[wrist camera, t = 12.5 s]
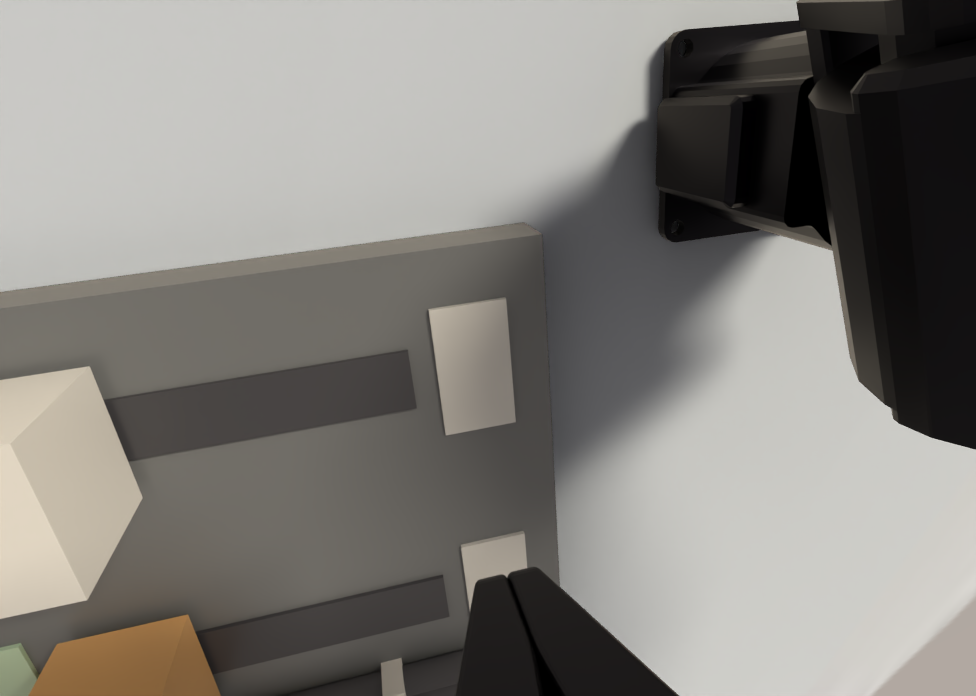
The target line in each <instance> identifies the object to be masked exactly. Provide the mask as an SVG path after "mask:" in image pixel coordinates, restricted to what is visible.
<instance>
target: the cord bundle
mask: <svg viewBox="0 0 976 696" xmlns="http://www.w3.org/2000/svg"><path fill="white" fill-rule="evenodd" d="M462 654H463V650H460V651H456V652H452V653H448V654H444V655H440V656H436V657H432V658H428V659H424V660H420V661H416V662H412V663H409V664H405V665H403V664H402V659H401V658H399V659H395V660H391V661H387V662H383V663H381V671H377V672H373V673H369V674H365V675H361V676H357V677H353V678H349V679H346V680H342V681H338V682H334V683H330V684H326V685H322V686H318V687H314V688H310V689H306V690H302V691H298V692H294V693H290V694H286V695H283V696H455V693H456V688H457V682H458V676H459V671H460V665H461V659H462Z"/></svg>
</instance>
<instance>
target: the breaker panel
mask: <svg viewBox="0 0 976 696" xmlns="http://www.w3.org/2000/svg"><path fill="white" fill-rule="evenodd" d="M88 366H90V368H91V371H92V373H93V376H94V378H95V381H96V383H97V386H98V388H99V391H100V393H101V396H102V398H103V401H104V403H105V405H106V408H107V410H108V413H109V415H110V418H111V420H112V423H113V425H114V428H115V430H116V433H117V435H118V438H119V440H120V443H121V445H122V448H123V450H124V453H125V455H126V457H127V460H128V462H129V465H130V467H131V470H132V472H133V475H134V477H135V480H136V482H137V485H138V487H139V490H140V492H141V495H142V497H143V498H142V500H141V502H140V504H139V506H138V508H137V509H136V511H135V513H134V515H133V517H132V519H131V521H130V522H129V524H128V526H127V528H126V530H125V532H124V533H123V535H122V537H121V539H120V541H119V543H118V545H117V546H116V548H115V550H114V552H113V554H112V556H111V557H110V559H109V561H108V563H107V565H106V567H105V569H104V570H103V572H102V574H101V576H100V578H99V580H98V582H97V583H96V585H95V587H94V589H93V591H92V593H91V594H90V596H89V598H88V600H86V601H81V602H77V603H72V604H67V605H63V606H58V607H53V608H49V609H44V610H40V611H35V612H30V613H26V614H21V615H16V616H12V617H7V618H3V619H0V696H28V695H29V694H30V692H31V690H32V688H33V686H34V685H35V683H36V681H37V679H38V677H39V675H40V674H41V672H42V670H43V668H44V666H45V665H46V663H47V661H48V659H49V657H50V656H51V654H52V652H53V650H54V648H55V647H56V645H57V644H59V643H63V642H68V641H72V640H77V639H81V638H85V637H90V636H94V635H99V634H103V633H108V632H112V631H116V630H121V629H125V628H130V627H134V626H139V625H143V624H147V623H152V622H156V621H161V620H165V619H170V618H174V617H178V616H183V615H187V614H188V615H189V618H190V620H191V623H192V625H193V628H194V630H195V633H196V635H197V638H198V640H199V643H200V645H201V648H202V650H203V652H204V655H205V657H206V660H207V662H208V665H209V667H210V670H211V672H212V675H213V677H214V680H215V682H216V685H217V687H218V689H219V692H220V694H221V696H283V695H286V694H290V693H294V692H298V691H302V690H306V689H310V688H314V687H318V686H322V685H326V684H330V683H334V682H338V681H342V680H346V679H349V678H353V677H357V676H361V675H365V674H369V673H373V672H377V671H381V663H383V662H387V661H391V660H395V659H399V658H401V659H402V664H403V665H405V664H409V663H412V662H416V661H420V660H424V659H428V658H432V657H436V656H440V655H444V654H448V653H452V652H456V651H460V650H463V648H464V642H465V637H466V631H467V625H468V620H469V614H470V609H471V603H472V597H473V592H474V586H475V583H476V582H477V581H478V580H479V579H483V578H487V577H492V576H496V575H500V574H503V575H505V576H506V577H508V574H509V573H510V572H512V571H517V570H521V569H525V568H529V567H537V568H539V569H541V570H542V571H543V572H544V573H545V574H546V575H547V576H548V577H549V578H551V579H552V580H553V581H554V582H555V583H556V584H557V585H558V586H559V587H560V581H559V561H558V541H557V521H556V501H555V481H554V461H553V441H552V420H551V400H550V380H549V360H548V340H547V320H546V300H545V280H544V260H543V240H542V234H541V233H540V232H538V231H537V230H535V229H534V228H532V227H530V226H529V225H527V224H526V223H517V224H509V225H502V226H494V227H486V228H479V229H471V230H464V231H456V232H449V233H441V234H434V235H426V236H419V237H411V238H404V239H396V240H389V241H381V242H374V243H366V244H359V245H351V246H344V247H336V248H329V249H321V250H314V251H306V252H299V253H291V254H283V255H276V256H268V257H261V258H253V259H246V260H238V261H231V262H223V263H216V264H208V265H201V266H193V267H186V268H178V269H171V270H163V271H156V272H148V273H141V274H133V275H126V276H118V277H111V278H103V279H96V280H88V281H81V282H73V283H65V284H58V285H50V286H43V287H35V288H28V289H20V290H13V291H5V292H0V380H4V379H11V378H17V377H23V376H30V375H36V374H43V373H49V372H56V371H62V370H68V369H75V368H81V367H88Z"/></svg>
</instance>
